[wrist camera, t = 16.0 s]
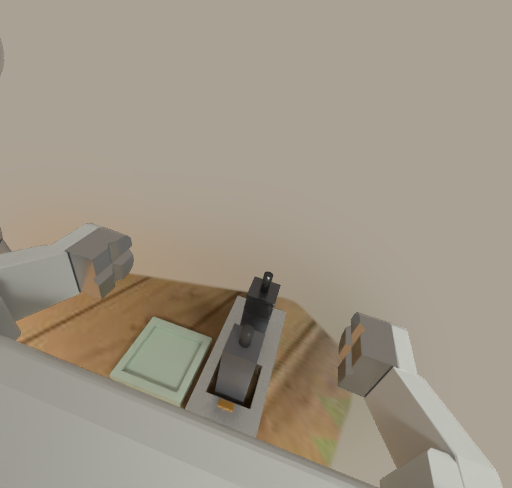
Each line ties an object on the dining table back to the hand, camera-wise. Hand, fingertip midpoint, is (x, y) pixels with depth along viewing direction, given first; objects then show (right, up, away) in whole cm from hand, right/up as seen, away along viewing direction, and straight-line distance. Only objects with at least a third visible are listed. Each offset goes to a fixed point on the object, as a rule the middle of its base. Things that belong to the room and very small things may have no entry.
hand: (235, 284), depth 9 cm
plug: (-3, -19, +29) cm, 34 cm away
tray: (-12, -15, +30) cm, 36 cm away
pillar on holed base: (-1, -16, +32) cm, 36 cm away
